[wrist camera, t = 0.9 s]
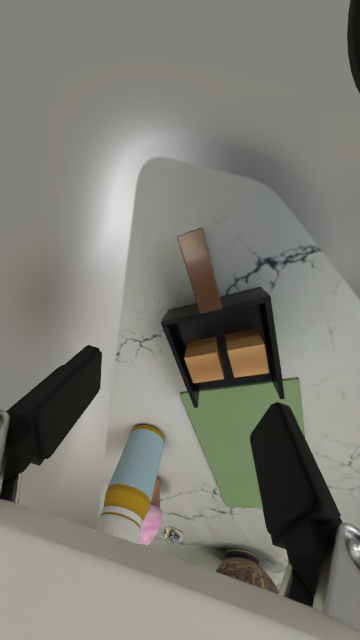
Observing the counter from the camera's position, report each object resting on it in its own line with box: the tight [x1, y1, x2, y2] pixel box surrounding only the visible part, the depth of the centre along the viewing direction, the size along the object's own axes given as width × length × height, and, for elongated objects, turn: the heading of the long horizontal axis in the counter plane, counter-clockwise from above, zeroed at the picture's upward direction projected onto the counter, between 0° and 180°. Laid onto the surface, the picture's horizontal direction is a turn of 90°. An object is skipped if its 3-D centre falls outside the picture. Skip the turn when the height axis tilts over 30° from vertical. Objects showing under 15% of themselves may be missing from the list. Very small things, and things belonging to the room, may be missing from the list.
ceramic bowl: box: [216, 549, 278, 594], centre depth 47 cm, size 24×18×15 cm
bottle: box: [95, 425, 165, 544], centre depth 30 cm, size 7×7×15 cm
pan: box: [161, 228, 285, 408], centre depth 22 cm, size 22×12×4 cm, turn 18°
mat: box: [180, 378, 305, 508], centre depth 34 cm, size 36×18×1 cm, turn 18°
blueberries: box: [164, 527, 183, 543], centre depth 53 cm, size 7×8×2 cm
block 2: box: [225, 328, 269, 378], centre depth 22 cm, size 4×4×4 cm
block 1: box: [184, 336, 224, 383], centre depth 24 cm, size 4×4×4 cm
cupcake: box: [138, 478, 162, 545], centre depth 39 cm, size 9×9×10 cm
